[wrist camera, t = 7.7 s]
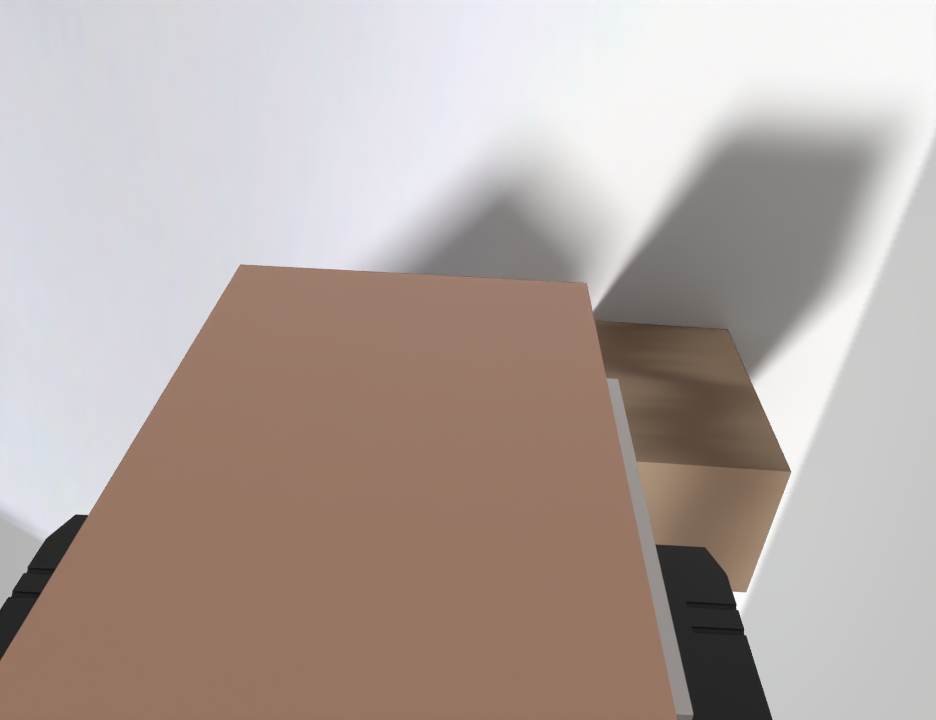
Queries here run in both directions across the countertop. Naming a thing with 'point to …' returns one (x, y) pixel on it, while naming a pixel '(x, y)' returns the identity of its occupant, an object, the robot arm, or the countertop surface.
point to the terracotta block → (361, 521)
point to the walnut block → (698, 440)
